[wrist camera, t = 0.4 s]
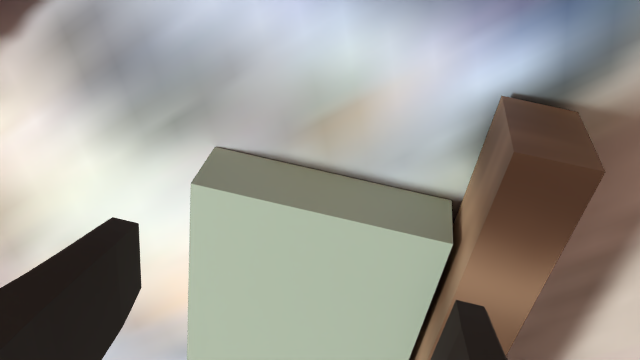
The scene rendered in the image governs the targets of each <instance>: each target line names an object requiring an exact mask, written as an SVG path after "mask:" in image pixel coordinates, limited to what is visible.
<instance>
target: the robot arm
mask: <svg viewBox="0 0 640 360" xmlns="http://www.w3.org/2000/svg"><path fill="white" fill-rule="evenodd" d="M140 289H141V270H140V246H139V224H138V223H134V222H130V221H126V220H122V219H118V218H111V219H109V220H108V221H106V222H105V223H103V224H101V225H100V226H98V227H97V228H95V229H94V230H92V231H91V232H89V233H88V234H86V235H85V236H83V237H82V238H80V239H79V240H77V241H76V242H74V243H73V244H71V245H69V246H68V247H66V248H65V249H63V250H62V251H60V252H59V253H57V254H56V255H54V256H53V257H51V258H49V259H48V260H46V261H45V262H43V263H41V264H40V265H38V266H37V267H35V268H33V269H32V270H30V271H29V272H27V273H25V274H24V275H22V276H20V277H19V278H17V279H15V280H14V281H12V282H10V283H8V284H7V285H5V286H3V287H1V288H0V360H102V358H103V357H104V355H105V354H106V352H107V350H108V349H109V347H110V346H111V344H112V343H113V341H114V340H115V338H116V336H117V335H118V333H119V332H120V330H121V328H122V327H123V325H124V323H125V321H126V319H127V317H128V315H129V313H130V311H131V309H132V306H133V304H134V302H135V300H136V298H137V296H138V294H139V291H140ZM431 360H507V357H506V355H505V353H504V351H503V348H502V346H501V344H500V342H499V339H498V337H497V334H496V332H495V330H494V327H493V325H492V322H491V320H490V317H489V315H488V312H487V311H486V309H485V307H484V306H480V305H476V304H472V303H468V302H464V301H459V300H456V301H455V303H454V305H453V308H452V310H451V312H450V315H449V317H448V319H447V322H446V324H445V327H444V329H443V331H442V334H441V336H440V338H439V341H438V343H437V345H436V348H435V350H434V352H433V355H432V357H431Z"/></svg>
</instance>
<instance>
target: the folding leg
mask: <svg viewBox="0 0 640 360" xmlns="http://www.w3.org/2000/svg"><path fill="white" fill-rule="evenodd" d="M604 173H605V170H604V168H603V166H602V163H601V161H600V159H599V157H598V155H597V153H596V150H595V148H594V146H593V144H592V142H591V140H590V137H589V135H588V133H587V131H586V129H585V126H584V124H583V122H582V120H581V118H580V116H579V113H578V112H575V111H571V110H566V109H561V108H557V107H552V106H547V105H543V104H538V103H533V102H529V101H524V100H519V99H515V98H510V97H505V96H501V99H500V102H499V104H498V107H497V110H496V112H495V115H494V118H493V120H492V123H491V126H490V128H489V131H488V134H487V136H486V139H485V142H484V144H483V147H482V150H481V152H480V155H479V158H478V160H477V163H476V166H475V168H474V171H473V174H472V176H471V179H470V182H469V184H468V187H467V190H466V192H465V195H464V198H463V200H462V203H461V206H460V208H459V211H458V214H457V216H456V219H455V222H454V224H453V246H452V248H451V251H450V254H449V256H448V259H447V261H446V264H445V267H444V269H443V272H442V274H441V277H440V280H439V282H438V285H437V287H436V290H435V293H434V295H433V298H432V300H431V303H430V306H429V308H428V311H427V313H426V316H425V319H424V321H423V324H422V326H421V329H420V332H419V334H418V337H417V339H416V342H415V345H414V347H413V350H412V352H411V355H410V358H409V360H431V357H432V355H433V352H434V350H435V348H436V345H437V343H438V341H439V338H440V336H441V334H442V331H443V329H444V327H445V324H446V322H447V319H448V317H449V315H450V312H451V310H452V308H453V305H454V303H455V301H456V300H459V301H464V302H468V303H472V304H476V305H480V306H484V307H485V309H486V311H487V312H488V315H489V317H490V320H491V322H492V325H493V327H494V330H495V332H496V334H497V337H498V339H499V342H500V344H501V346H502V348H503V351H504V353H505V355H507V353H508V351H509V349H510V347H511V346H512V344H513V342H514V340H515V338H516V336H517V334H518V333H519V331H520V329H521V327H522V325H523V323H524V322H525V320H526V318H527V316H528V314H529V312H530V310H531V309H532V307H533V305H534V303H535V301H536V299H537V297H538V296H539V294H540V292H541V290H542V288H543V286H544V284H545V283H546V281H547V279H548V277H549V275H550V273H551V272H552V270H553V268H554V266H555V264H556V262H557V260H558V259H559V257H560V255H561V253H562V251H563V249H564V247H565V246H566V244H567V242H568V240H569V238H570V236H571V234H572V233H573V231H574V229H575V227H576V225H577V223H578V222H579V220H580V218H581V216H582V214H583V212H584V210H585V209H586V207H587V205H588V203H589V201H590V199H591V197H592V196H593V194H594V192H595V190H596V188H597V186H598V184H599V183H600V181H601V179H602V177H603V175H604Z"/></svg>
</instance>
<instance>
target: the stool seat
mask: <svg viewBox="0 0 640 360" xmlns="http://www.w3.org/2000/svg"><path fill="white" fill-rule="evenodd" d="M452 246H453V227H452V200H447V199H443V198H438V197H434V196H430V195H425V194H421V193H416V192H412V191H408V190H403V189H399V188H394V187H390V186H386V185H381V184H377V183H372V182H368V181H363V180H359V179H355V178H350V177H346V176H341V175H337V174H333V173H328V172H324V171H319V170H315V169H311V168H306V167H302V166H297V165H293V164H288V163H284V162H280V161H275V160H271V159H266V158H262V157H258V156H253V155H249V154H244V153H240V152H236V151H231V150H227V149H222V148H218V147H215V148H214V149H213V151H212V152H211V154H210V155H209V157H208V158H207V160H206V161H205V163H204V164H203V166H202V167H201V169H200V170H199V172H198V173H197V175H196V176H195V178H194V179H193V181H192V182H191V196H190V243H189V291H188V338H187V360H409V358H410V355H411V352H412V350H413V347H414V345H415V342H416V339H417V337H418V334H419V332H420V329H421V326H422V324H423V321H424V319H425V316H426V313H427V311H428V308H429V306H430V303H431V300H432V298H433V295H434V293H435V290H436V287H437V285H438V282H439V280H440V277H441V274H442V272H443V269H444V267H445V264H446V261H447V259H448V256H449V254H450V251H451V248H452Z"/></svg>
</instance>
